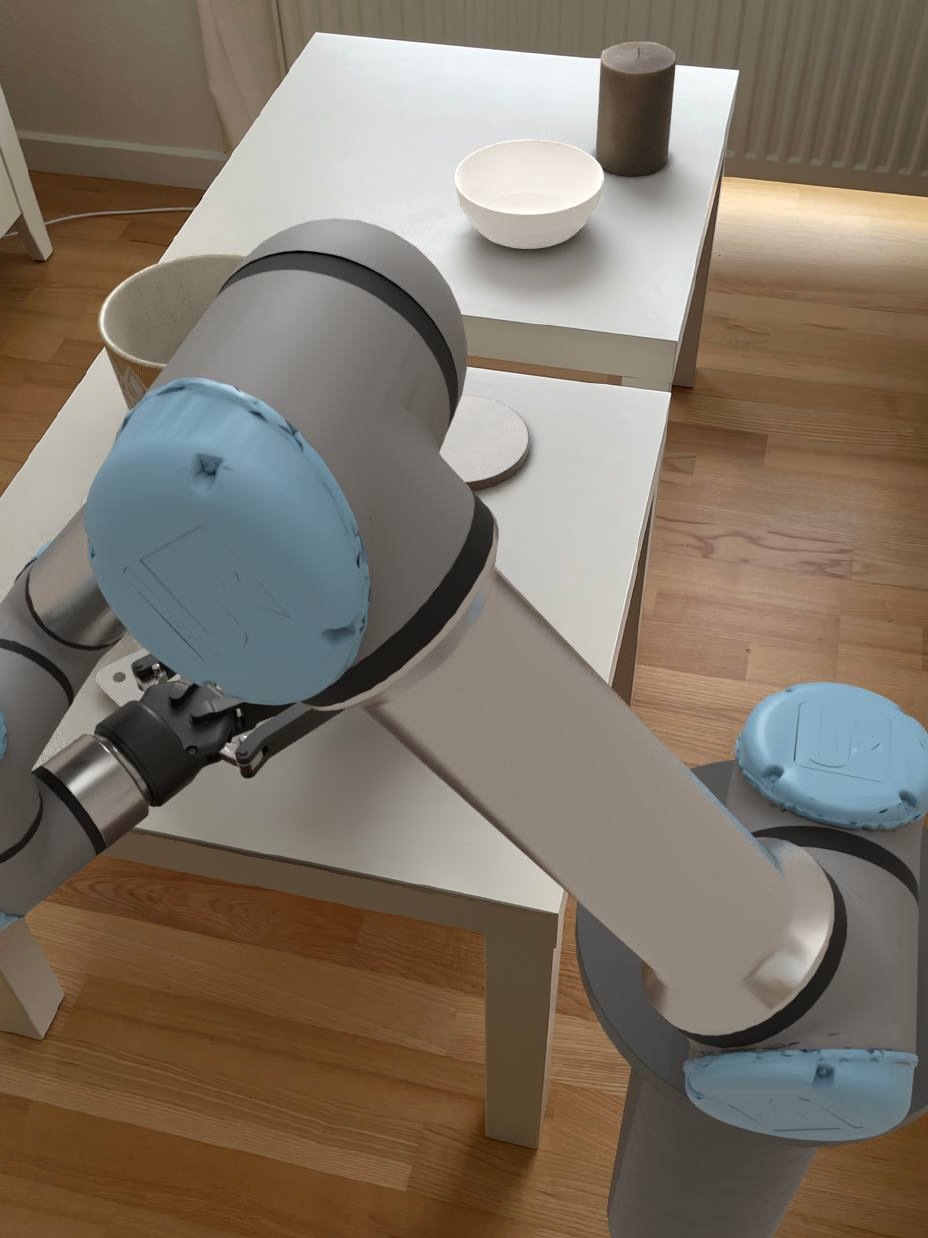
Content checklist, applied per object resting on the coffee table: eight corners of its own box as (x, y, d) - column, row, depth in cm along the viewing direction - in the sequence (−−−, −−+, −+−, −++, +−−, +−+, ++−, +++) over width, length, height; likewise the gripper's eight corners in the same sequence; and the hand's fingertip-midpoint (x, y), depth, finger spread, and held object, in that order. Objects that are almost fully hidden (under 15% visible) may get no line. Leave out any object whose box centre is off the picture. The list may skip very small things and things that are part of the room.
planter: (181, 374, 139) (149, 241, 126) (345, 398, 135) (329, 263, 123) (104, 487, 126) (61, 352, 114) (283, 517, 123) (257, 380, 110)
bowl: (628, 244, 154) (632, 190, 148) (495, 283, 149) (494, 229, 144) (557, 179, 165) (559, 126, 160) (432, 213, 160) (429, 160, 155)
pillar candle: (659, 180, 164) (669, 66, 153) (587, 171, 166) (592, 58, 155) (674, 145, 170) (685, 33, 159) (604, 137, 172) (610, 26, 161)
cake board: (554, 431, 130) (554, 422, 129) (481, 509, 122) (481, 500, 122) (442, 389, 136) (442, 379, 135) (366, 461, 128) (366, 452, 127)
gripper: (56, 728, 97) (277, 570, 108) (220, 880, 88) (445, 689, 98) (28, 666, 92) (264, 506, 102) (199, 821, 82) (440, 626, 93)
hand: (352, 596), depth 100 cm, fingers closed on food, 7 cm apart
